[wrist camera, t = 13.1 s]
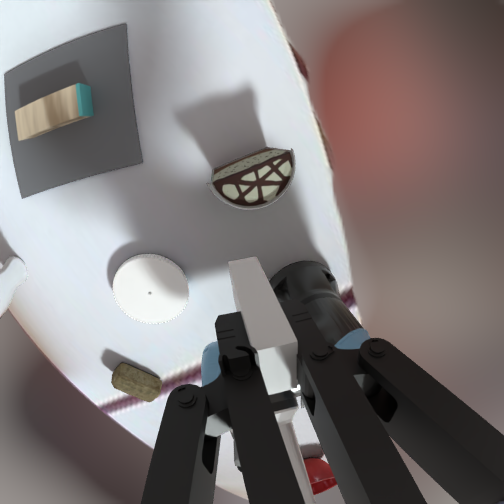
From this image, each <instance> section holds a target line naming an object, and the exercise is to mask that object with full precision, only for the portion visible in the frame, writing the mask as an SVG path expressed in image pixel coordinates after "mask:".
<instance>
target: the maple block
mask: <svg viewBox="0 0 504 504" xmlns="http://www.w3.org/2000/svg"><path fill="white" fill-rule="evenodd" d="M91 116H94V113H93V105H92V96H91V87H90V86H88V85H84V84H81V83H77V84H75V85H72V86H69V87H67V88H64V89H62V90H59V91H57V92H54V93H52V94H50V95H47V96H45V97H43V98H41V99H38V100H36V101H34V102H32V103H30V104H28V105H26V106H24V107H22V108H20V109H18V110H16V111H15V118H16V126H17V133H18V140H19V141H21V140H26V139H31V138H35V137H37V136H39V135H42V134H44V133H47V132H49V131H52V130H54V129H57V128H59V127H62V126H65V125H67V124H70V123H73V122H76V121H79V120H82V119H85V118H88V117H91Z"/></svg>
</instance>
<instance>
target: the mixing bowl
mask: <svg viewBox="0 0 504 504" xmlns="http://www.w3.org/2000/svg"><path fill="white" fill-rule="evenodd" d="M303 461H304V464H305V468H306V471H307V474H308V478H309V481H310V485H311V488H312V491H313V495H316V494H319V493H321V492H323V491H326V490H328V489H330V488H332V487H334V486H335V485H337V482H336V480H335V477H334V475H333V473H332V470H331V468H330V465H329V464H328V463H326V462H325V461H323V460H321V459H316V458H308V459H304V460H303Z"/></svg>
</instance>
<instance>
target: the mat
mask: <svg viewBox="0 0 504 504" xmlns="http://www.w3.org/2000/svg"><path fill="white" fill-rule="evenodd" d="M4 81H5V101H6V113H7V123H8V131H9V138H10V145H11V151H12V156H13V162H14V167H15V172H16V176H17V181H18V185H19V189H20V193H21V197H22V199H23V198H26V197H28V196H31V195H34V194H37V193H39V192H42V191H45V190H48V189H51V188H54V187H57V186H60V185H63V184H66V183H70V182H73V181H76V180H79V179H83V178H86V177H90V176H93V175H97V174H100V173H104V172H108V171H112V170H115V169H119V168H123V167H127V166H132V165H136V164H140V163H143V161H142V156H141V150H140V144H139V138H138V132H137V125H136V119H135V111H134V104H133V96H132V88H131V79H130V69H129V57H128V44H127V27H126V24H123V25H119V26H115V27H112V28H109V29H106V30H102V31H99V32H96V33H93V34H90V35H88V36H85V37H82V38H79V39H77V40H74V41H72V42H69V43H67V44H64V45H62V46H59V47H57V48H55V49H53V50H50V51H48V52H46V53H44V54H42V55H40V56H38V57H36V58H34V59H32V60H30V61H28V62H26V63H24V64H22V65H20V66H18V67H17V68H15V69H13V70H11V71H9V72H8V73H6V74H4ZM77 83H81V84H84V85H88V86H90V87H91V96H92V105H93V113H94V116H91V117H88V118H85V119H82V120H79V121H76V122H73V123H70V124H67V125H65V126H62V127H59V128H57V129H54V130H52V131H49V132H47V133H44V134H42V135H39V136H37V137H35V138H31V139H26V140H21V141H19V140H18V133H17V126H16V118H15V111H16V110H18V109H20V108H22V107H24V106H26V105H28V104H30V103H32V102H34V101H36V100H38V99H41V98H43V97H45V96H47V95H50V94H52V93H54V92H57V91H59V90H62V89H64V88H67V87H69V86H72V85H75V84H77Z"/></svg>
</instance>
